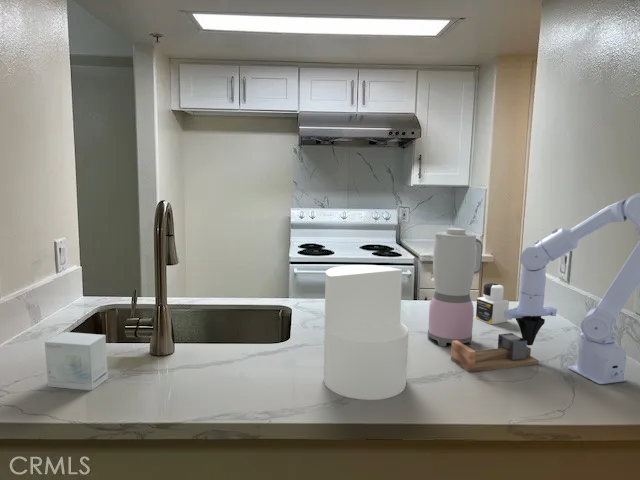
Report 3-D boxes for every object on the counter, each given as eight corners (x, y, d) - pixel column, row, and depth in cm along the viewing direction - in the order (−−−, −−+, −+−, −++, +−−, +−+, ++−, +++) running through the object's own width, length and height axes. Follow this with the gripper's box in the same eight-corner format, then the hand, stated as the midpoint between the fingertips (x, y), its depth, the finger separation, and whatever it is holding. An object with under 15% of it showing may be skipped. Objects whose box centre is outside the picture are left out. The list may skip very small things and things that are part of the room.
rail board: (538, 364, 117) (540, 345, 117) (468, 372, 112) (470, 352, 111) (516, 352, 125) (518, 334, 124) (450, 359, 119) (451, 340, 119)
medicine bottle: (475, 318, 154) (477, 283, 153) (491, 315, 157) (493, 281, 156) (491, 324, 148) (494, 287, 146) (508, 322, 151) (510, 286, 149)
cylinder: (312, 369, 112) (313, 267, 108) (381, 359, 118) (385, 263, 115) (343, 405, 95) (346, 285, 91) (422, 392, 101) (428, 279, 98)
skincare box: (46, 387, 100) (43, 341, 99) (66, 375, 107) (63, 330, 105) (91, 391, 99) (88, 344, 98) (109, 378, 105) (106, 333, 104)
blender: (444, 350, 126) (450, 232, 121) (418, 335, 137) (423, 227, 132) (490, 343, 132) (498, 230, 127) (462, 329, 143) (469, 225, 138)
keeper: (525, 358, 117) (527, 340, 117) (512, 360, 116) (513, 342, 116) (510, 350, 123) (511, 333, 122) (497, 351, 122) (498, 334, 121)
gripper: (544, 287, 124) (539, 336, 126) (497, 290, 120) (493, 340, 122) (564, 294, 118) (559, 345, 120) (515, 297, 114) (511, 350, 116)
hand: (527, 344), depth 121 cm, fingers closed
